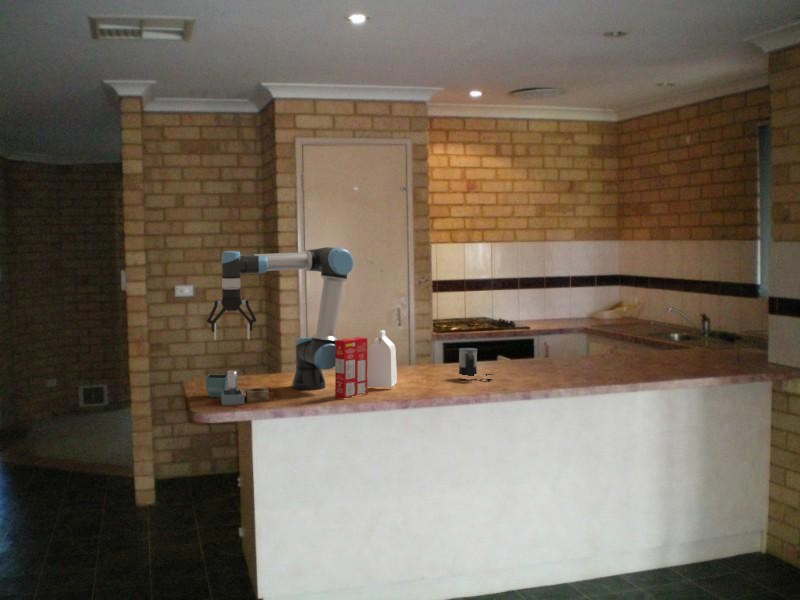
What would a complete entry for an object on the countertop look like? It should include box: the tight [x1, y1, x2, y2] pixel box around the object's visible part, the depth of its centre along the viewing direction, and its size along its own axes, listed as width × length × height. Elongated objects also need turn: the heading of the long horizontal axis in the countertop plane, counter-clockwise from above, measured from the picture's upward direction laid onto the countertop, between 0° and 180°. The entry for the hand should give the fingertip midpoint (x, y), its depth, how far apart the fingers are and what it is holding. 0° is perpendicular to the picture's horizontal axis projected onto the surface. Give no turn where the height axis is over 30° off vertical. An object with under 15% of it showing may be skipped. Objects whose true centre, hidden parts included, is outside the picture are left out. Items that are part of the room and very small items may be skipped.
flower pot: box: [204, 374, 228, 399], centre depth 366 cm, size 9×9×9 cm
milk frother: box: [458, 347, 494, 376], centre depth 411 cm, size 14×16×15 cm
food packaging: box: [334, 336, 368, 399], centre depth 368 cm, size 15×5×25 cm, turn 141°
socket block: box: [245, 387, 270, 403], centre depth 361 cm, size 9×9×4 cm
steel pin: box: [227, 370, 238, 395], centre depth 355 cm, size 4×4×12 cm
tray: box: [220, 388, 245, 406], centre depth 355 cm, size 9×13×4 cm
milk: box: [367, 329, 398, 387], centre depth 390 cm, size 12×12×26 cm
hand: (232, 339), depth 353 cm, fingers open, 13 cm apart
